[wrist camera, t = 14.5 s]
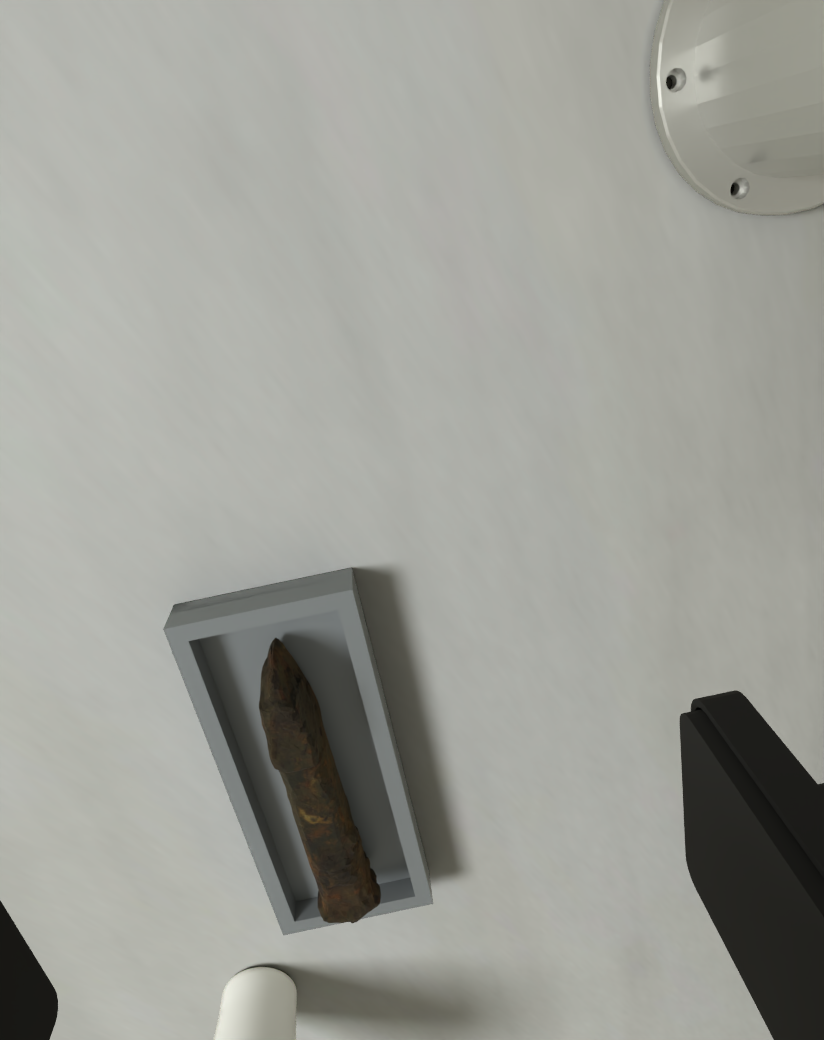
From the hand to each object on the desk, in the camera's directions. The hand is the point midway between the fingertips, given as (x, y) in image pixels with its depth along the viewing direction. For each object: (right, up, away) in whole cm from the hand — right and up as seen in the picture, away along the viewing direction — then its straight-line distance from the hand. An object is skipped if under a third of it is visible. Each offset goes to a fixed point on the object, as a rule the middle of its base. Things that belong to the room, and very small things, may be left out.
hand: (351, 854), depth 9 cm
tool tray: (-5, -10, +35) cm, 37 cm away
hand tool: (-6, -10, +34) cm, 36 cm away
